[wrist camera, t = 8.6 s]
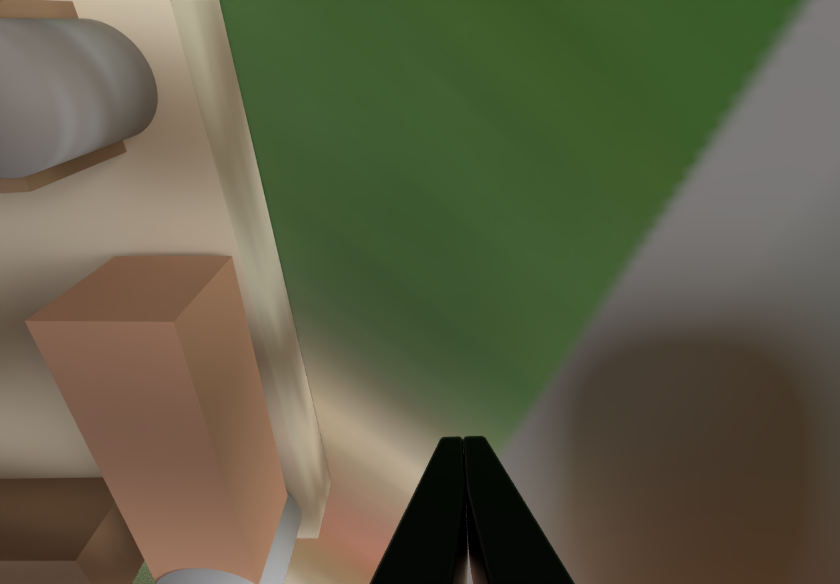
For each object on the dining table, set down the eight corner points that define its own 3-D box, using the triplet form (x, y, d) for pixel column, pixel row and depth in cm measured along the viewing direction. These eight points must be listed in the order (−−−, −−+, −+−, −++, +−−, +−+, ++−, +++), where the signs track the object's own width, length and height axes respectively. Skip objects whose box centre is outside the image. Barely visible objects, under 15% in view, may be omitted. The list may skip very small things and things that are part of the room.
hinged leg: (307, 544, 18) (282, 640, 15) (212, 541, 18) (170, 636, 15) (245, 254, 12) (186, 324, 9) (105, 254, 12) (6, 323, 9)
